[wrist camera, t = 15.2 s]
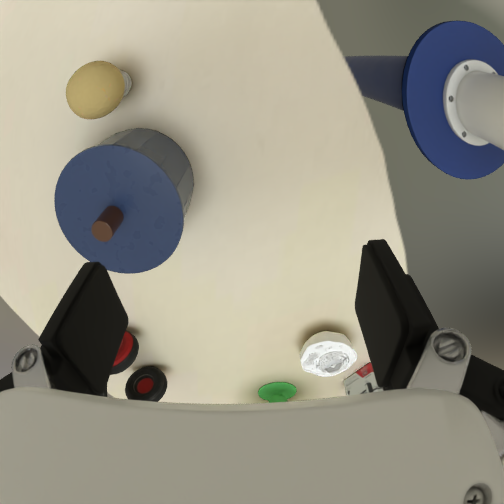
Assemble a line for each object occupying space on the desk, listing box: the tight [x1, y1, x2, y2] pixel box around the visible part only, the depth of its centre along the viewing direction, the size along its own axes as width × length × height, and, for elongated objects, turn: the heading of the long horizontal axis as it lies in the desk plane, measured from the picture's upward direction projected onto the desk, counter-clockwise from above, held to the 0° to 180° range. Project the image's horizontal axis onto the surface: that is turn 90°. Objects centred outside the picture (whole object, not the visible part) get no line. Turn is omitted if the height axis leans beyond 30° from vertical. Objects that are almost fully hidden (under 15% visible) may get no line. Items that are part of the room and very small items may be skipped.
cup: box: [258, 382, 297, 403], centre depth 61 cm, size 14×14×16 cm
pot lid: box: [55, 144, 184, 273], centre depth 30 cm, size 16×16×4 cm
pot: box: [97, 128, 194, 217], centre depth 35 cm, size 15×15×10 cm
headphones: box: [100, 331, 167, 402], centre depth 51 cm, size 18×10×20 cm, turn 15°
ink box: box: [344, 363, 383, 396], centre depth 60 cm, size 8×5×12 cm, turn 146°
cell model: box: [300, 331, 357, 377], centre depth 54 cm, size 10×12×7 cm
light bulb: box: [66, 61, 132, 119], centre depth 27 cm, size 6×6×10 cm
